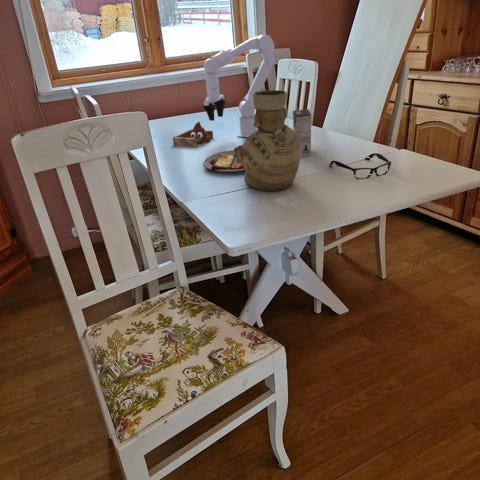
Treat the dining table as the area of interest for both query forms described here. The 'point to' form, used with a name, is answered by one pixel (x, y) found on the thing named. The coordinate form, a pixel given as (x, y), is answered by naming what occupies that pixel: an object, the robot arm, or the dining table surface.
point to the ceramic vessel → (270, 145)
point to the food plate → (223, 162)
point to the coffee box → (303, 130)
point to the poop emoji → (199, 134)
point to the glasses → (365, 168)
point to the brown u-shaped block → (188, 139)
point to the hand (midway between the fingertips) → (216, 118)
